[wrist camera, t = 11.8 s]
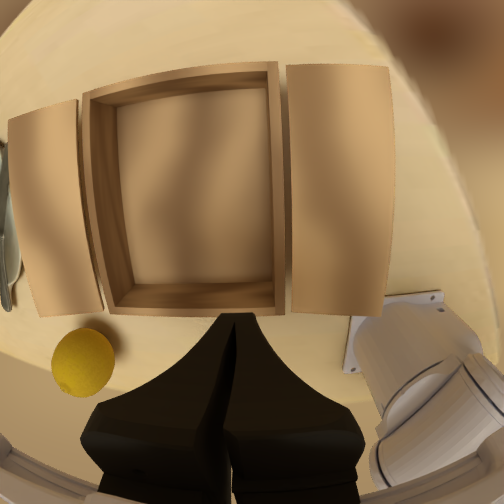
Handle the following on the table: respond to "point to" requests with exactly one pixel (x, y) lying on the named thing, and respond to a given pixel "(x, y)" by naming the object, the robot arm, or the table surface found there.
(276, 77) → the carton
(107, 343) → the lemon
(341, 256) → the panel
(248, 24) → the table surface
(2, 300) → the avocado toast plate
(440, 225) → the table surface
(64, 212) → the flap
